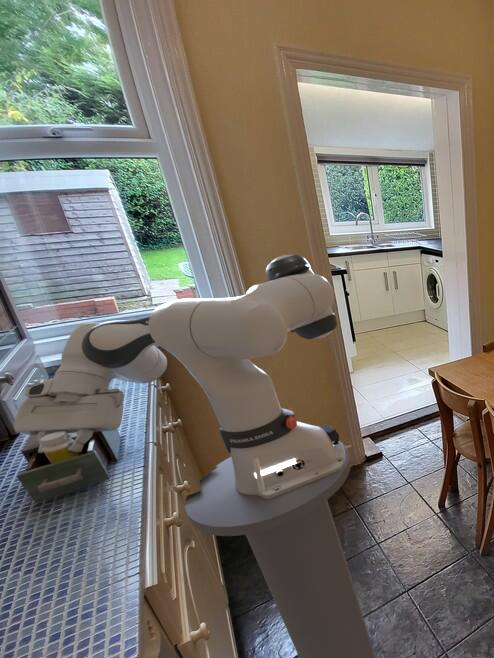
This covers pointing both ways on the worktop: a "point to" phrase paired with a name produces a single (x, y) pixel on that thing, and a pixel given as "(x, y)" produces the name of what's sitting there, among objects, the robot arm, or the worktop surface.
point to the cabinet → (107, 437)
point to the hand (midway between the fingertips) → (59, 452)
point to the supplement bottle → (58, 446)
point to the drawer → (65, 472)
